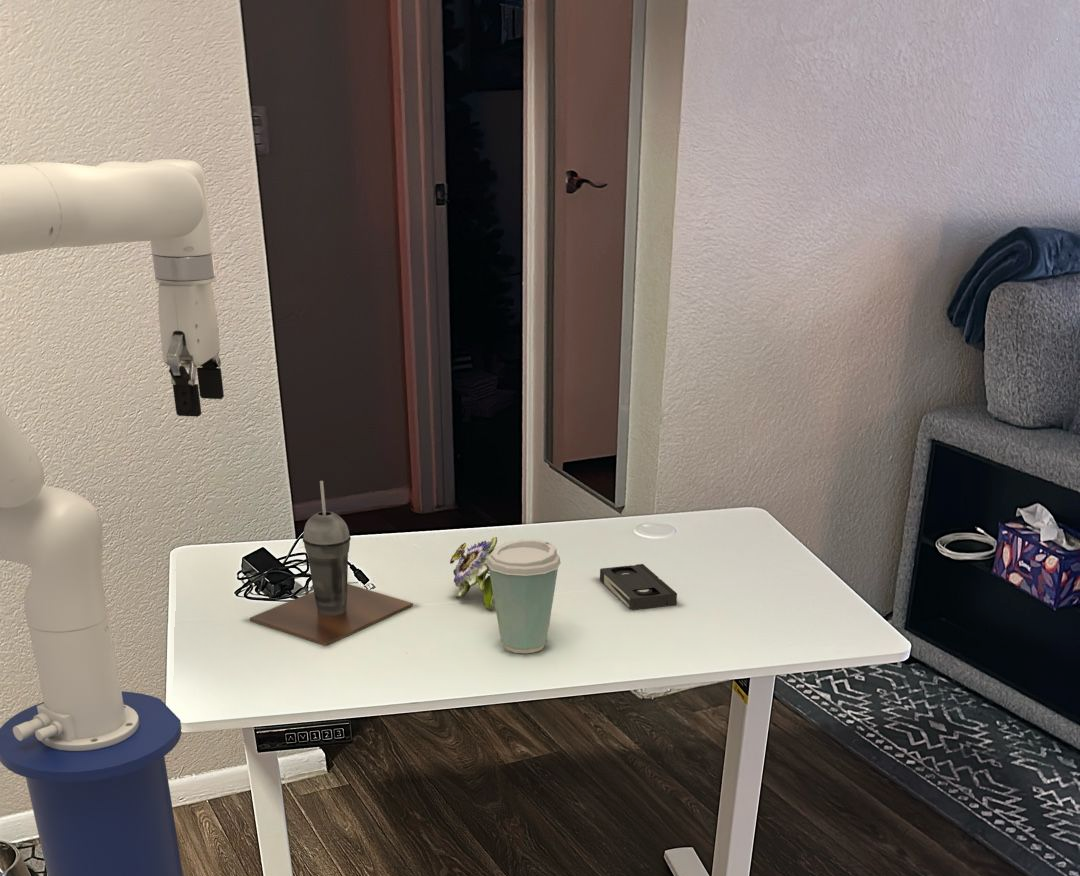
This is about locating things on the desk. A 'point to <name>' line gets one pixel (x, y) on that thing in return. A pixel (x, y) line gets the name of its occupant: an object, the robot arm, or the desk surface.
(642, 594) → the vhs tape
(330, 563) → the beverage cup
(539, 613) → the disposable coffee cup
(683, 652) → the desk surface
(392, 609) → the walnut board
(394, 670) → the desk surface
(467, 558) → the passion flower
